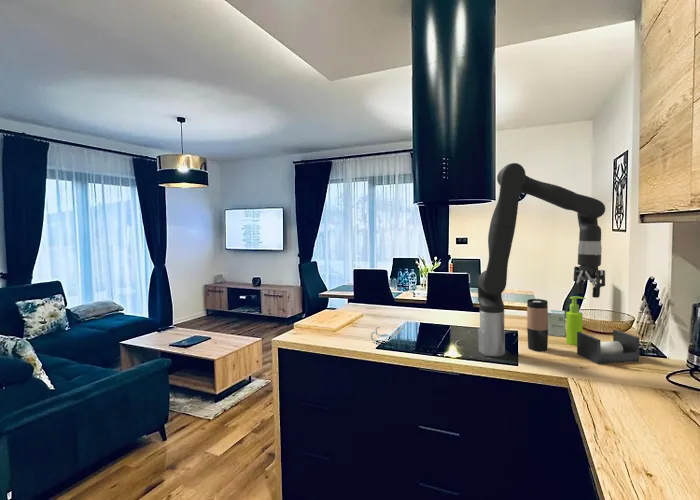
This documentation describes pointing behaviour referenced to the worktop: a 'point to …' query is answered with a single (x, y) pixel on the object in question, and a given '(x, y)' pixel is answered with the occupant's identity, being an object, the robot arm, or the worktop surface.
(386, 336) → the wall mount rack
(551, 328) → the light bulb box
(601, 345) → the kitchen roll
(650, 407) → the worktop surface
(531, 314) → the travel mug
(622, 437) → the worktop surface
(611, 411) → the worktop surface
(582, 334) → the holder
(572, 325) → the soap dispenser
